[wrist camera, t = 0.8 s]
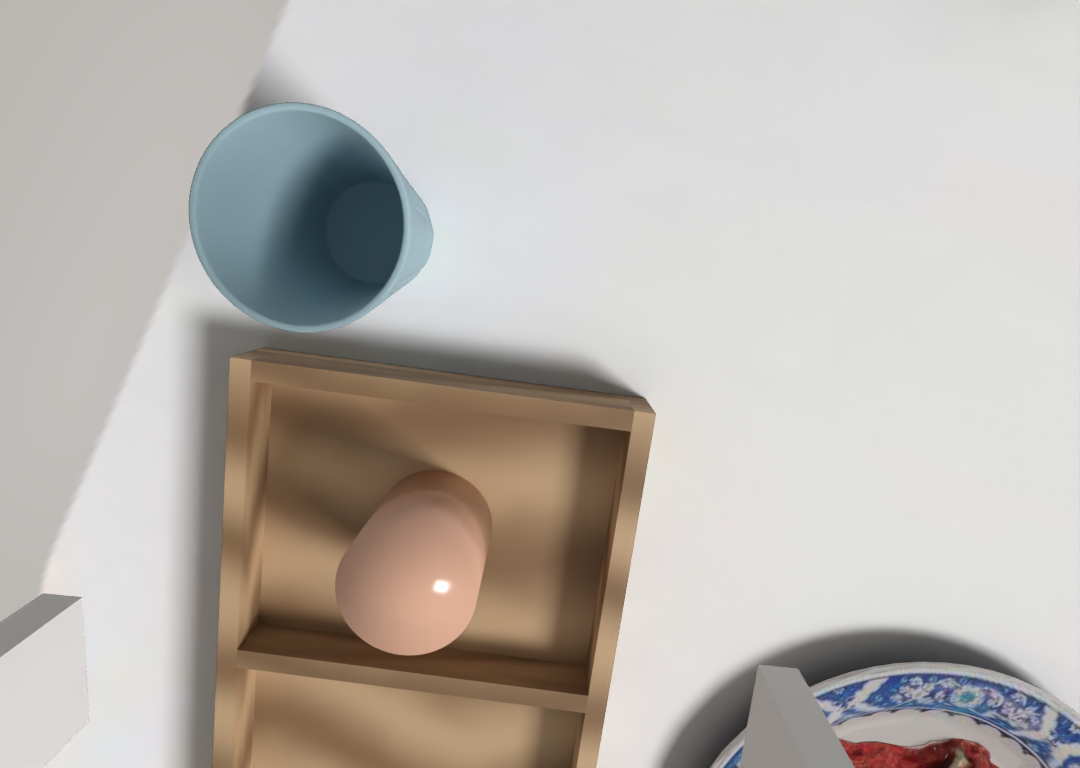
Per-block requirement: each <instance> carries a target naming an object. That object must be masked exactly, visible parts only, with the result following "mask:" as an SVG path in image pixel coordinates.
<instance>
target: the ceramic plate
mask: <svg viewBox="0 0 1080 768" xmlns="http://www.w3.org/2000/svg"><path fill="white" fill-rule="evenodd" d="M809 688H810V690H811V692H812V694H813V695H814V697H815V699H816V701H817V702H818V704H819V706H820V708H821V709H822V711H823V713H824V715H825V716H826V718H827V720H828V722H829V723H830V725H831V727H832V729H833V730H834V732H835V734H836V736H837V737H838V739H839V741H840V743H841V744H842V746H843V748H844V750H845V751H846V753H847V755H848V757H849V758H850V760H851V762H852V764H853V765H854V767H855V768H1080V715H1079V714H1078V713H1077V712H1076V711H1074V710H1073V709H1071V708H1070V707H1069V706H1067V705H1066V704H1064V703H1063V702H1061V701H1060V700H1059V699H1057V698H1055V697H1054V696H1052V695H1050V694H1048V693H1047V692H1045V691H1043V690H1041V689H1039V688H1038V687H1036V686H1034V685H1031V684H1029V683H1027V682H1024V681H1022V680H1020V679H1017V678H1015V677H1012V676H1009V675H1006V674H1003V673H999V672H996V671H993V670H989V669H984V668H980V667H975V666H970V665H963V664H955V663H946V662H907V663H894V664H887V665H880V666H873V667H869V668H865V669H861V670H856V671H852V672H848V673H845V674H842V675H839V676H836V677H833V678H830V679H827V680H824V681H822V682H820V683H817V684H815V685H813V686H810V687H809ZM746 729H747V727H746V728H745V729H744V730H743V731H742V732H741V733H740V734H739V735H738V736H736V737H735V738H734V739H733V740H732V741H731V742H730V743H729V744H728V745H727V746H726V747H725V748H724V749H723V751H722V752H721V753H720V755H719V756H718V757H717V759H716V760H715V761H714V763H713V764H712V765H711V767H710V768H740V762H741V757H742V751H743V746H744V740H745V735H746Z"/></svg>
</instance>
